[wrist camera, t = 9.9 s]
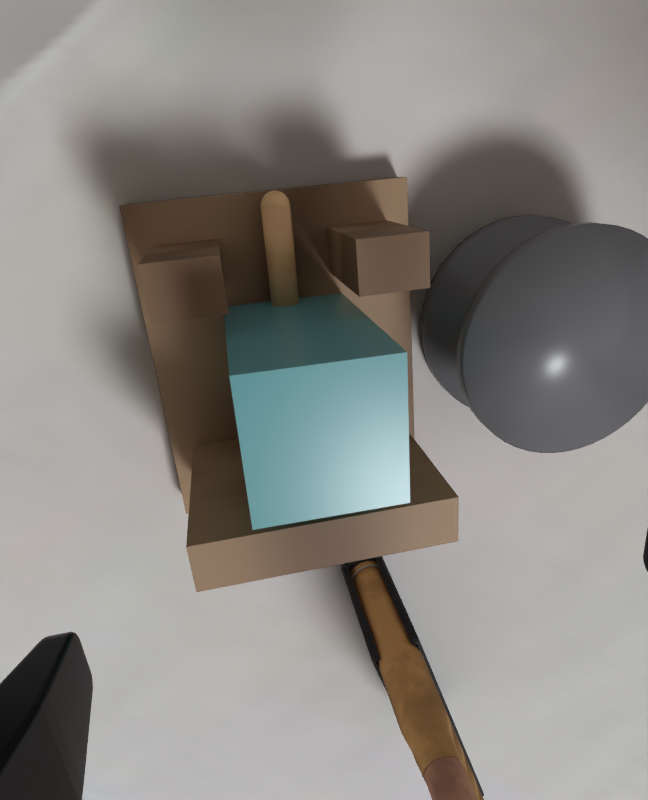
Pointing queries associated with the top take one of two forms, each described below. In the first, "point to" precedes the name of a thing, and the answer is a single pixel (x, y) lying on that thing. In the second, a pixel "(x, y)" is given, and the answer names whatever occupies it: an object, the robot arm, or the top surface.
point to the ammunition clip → (410, 682)
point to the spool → (543, 329)
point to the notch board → (209, 373)
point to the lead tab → (314, 396)
